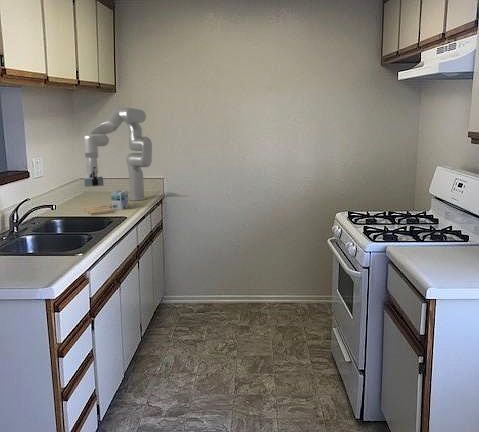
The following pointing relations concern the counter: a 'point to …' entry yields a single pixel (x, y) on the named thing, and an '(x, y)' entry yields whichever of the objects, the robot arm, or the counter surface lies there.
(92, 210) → the oak board
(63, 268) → the counter surface
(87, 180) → the sanding block
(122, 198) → the light bulb box
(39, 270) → the counter surface
